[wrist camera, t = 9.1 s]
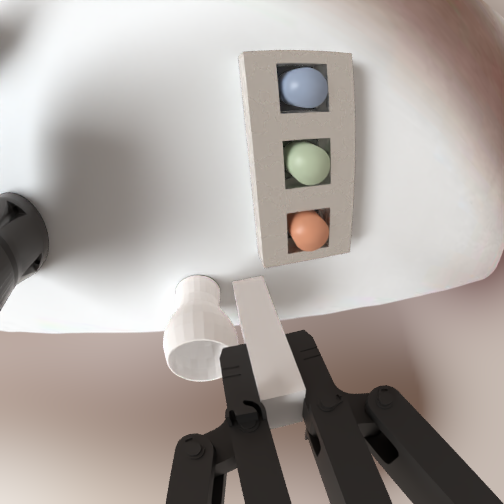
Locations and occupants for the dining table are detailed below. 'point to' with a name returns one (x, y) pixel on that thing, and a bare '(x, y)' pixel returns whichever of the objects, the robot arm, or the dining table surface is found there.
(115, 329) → the dining table surface
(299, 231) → the button terracotta
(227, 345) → the cup
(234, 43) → the dining table surface
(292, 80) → the button slate
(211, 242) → the dining table surface
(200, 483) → the robot arm
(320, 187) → the panel
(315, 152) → the button sage
